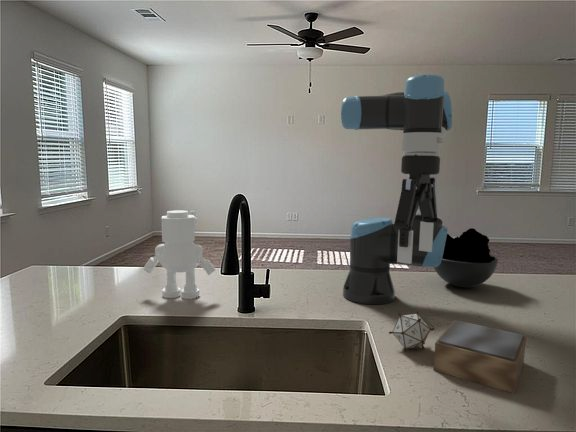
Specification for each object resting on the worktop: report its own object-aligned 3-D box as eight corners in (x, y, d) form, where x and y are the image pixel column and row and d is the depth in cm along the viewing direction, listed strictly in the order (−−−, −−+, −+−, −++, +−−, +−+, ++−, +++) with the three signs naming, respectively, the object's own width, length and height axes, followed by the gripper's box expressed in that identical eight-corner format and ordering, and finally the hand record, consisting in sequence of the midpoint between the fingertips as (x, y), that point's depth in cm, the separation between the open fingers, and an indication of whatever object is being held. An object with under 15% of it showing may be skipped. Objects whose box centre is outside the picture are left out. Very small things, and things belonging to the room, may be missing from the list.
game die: (417, 367, 91) (437, 344, 85) (380, 350, 93) (398, 326, 86) (422, 334, 98) (442, 311, 91) (388, 319, 99) (405, 294, 92)
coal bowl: (505, 286, 138) (509, 229, 136) (480, 300, 124) (485, 237, 122) (446, 274, 152) (449, 222, 150) (417, 285, 138) (420, 228, 136)
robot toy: (221, 291, 130) (220, 210, 127) (210, 303, 119) (209, 215, 115) (152, 288, 132) (150, 208, 129) (135, 300, 121) (132, 213, 118)
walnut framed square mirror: (433, 370, 83) (435, 340, 82) (452, 344, 94) (453, 318, 93) (514, 393, 75) (517, 361, 74) (523, 362, 86) (526, 334, 85)
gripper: (419, 153, 75) (413, 271, 77) (455, 155, 95) (449, 249, 98) (379, 153, 79) (374, 265, 82) (421, 155, 99) (416, 245, 102)
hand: (415, 256), depth 90 cm, fingers open, 13 cm apart
